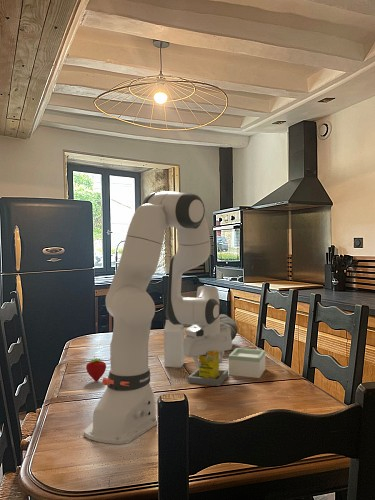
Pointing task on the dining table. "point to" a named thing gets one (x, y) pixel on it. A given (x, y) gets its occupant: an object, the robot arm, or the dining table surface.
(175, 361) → the milk carton
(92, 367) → the strawberry
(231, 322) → the gourd
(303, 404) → the dining table surface
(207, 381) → the white box and frame
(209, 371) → the supplement box
